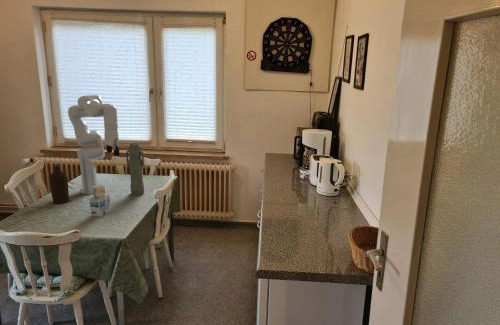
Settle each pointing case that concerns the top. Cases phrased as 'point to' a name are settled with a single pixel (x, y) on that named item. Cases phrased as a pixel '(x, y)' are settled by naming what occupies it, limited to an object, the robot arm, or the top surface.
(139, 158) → the thermos
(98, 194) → the beech block
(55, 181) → the olive oil
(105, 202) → the light bulb box
